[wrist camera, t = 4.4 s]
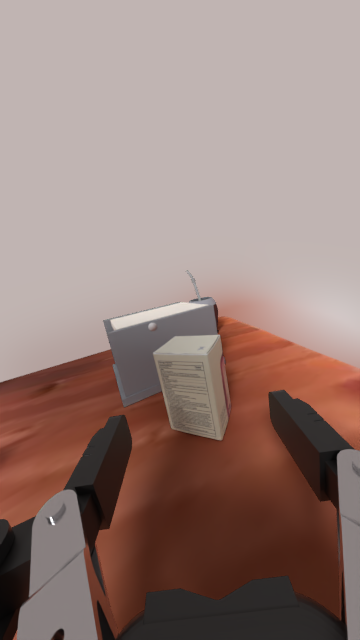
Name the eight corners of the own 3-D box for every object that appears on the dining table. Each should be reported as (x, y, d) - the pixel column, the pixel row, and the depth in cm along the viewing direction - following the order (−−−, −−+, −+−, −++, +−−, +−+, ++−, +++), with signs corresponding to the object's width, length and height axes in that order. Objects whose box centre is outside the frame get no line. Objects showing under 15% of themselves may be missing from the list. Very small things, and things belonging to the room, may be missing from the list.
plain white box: (128, 374, 23) (116, 329, 22) (119, 354, 31) (110, 319, 30) (214, 343, 28) (208, 304, 27) (187, 332, 36) (181, 302, 35)
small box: (232, 407, 19) (222, 333, 17) (222, 443, 15) (207, 353, 13) (187, 400, 21) (174, 334, 19) (168, 430, 17) (150, 352, 16)
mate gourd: (214, 337, 39) (203, 265, 36) (182, 337, 43) (170, 272, 40) (225, 326, 45) (216, 264, 42) (196, 327, 49) (186, 270, 46)
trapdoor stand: (123, 407, 22) (103, 335, 20) (114, 370, 33) (99, 321, 31) (225, 363, 27) (217, 304, 26) (188, 344, 38) (180, 301, 36)
